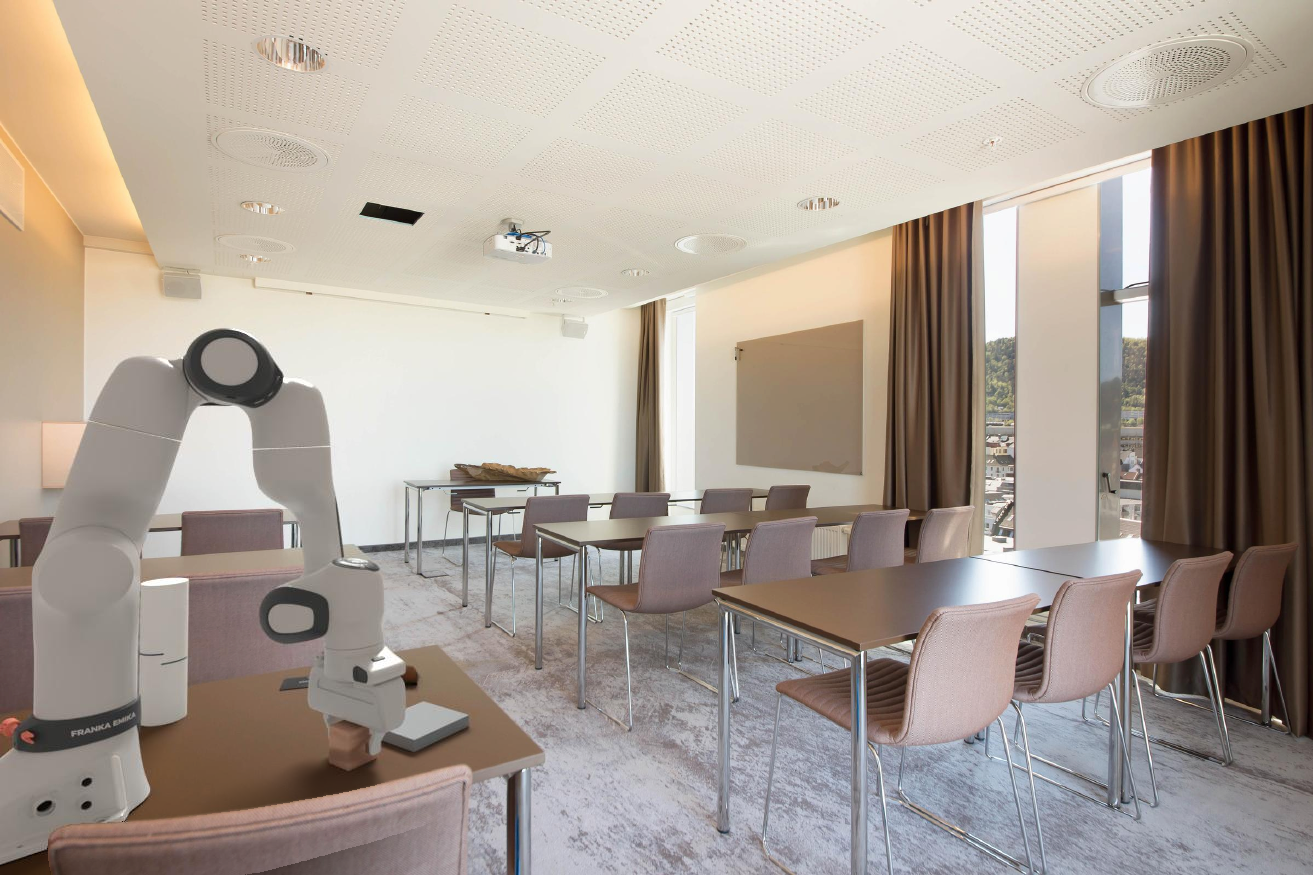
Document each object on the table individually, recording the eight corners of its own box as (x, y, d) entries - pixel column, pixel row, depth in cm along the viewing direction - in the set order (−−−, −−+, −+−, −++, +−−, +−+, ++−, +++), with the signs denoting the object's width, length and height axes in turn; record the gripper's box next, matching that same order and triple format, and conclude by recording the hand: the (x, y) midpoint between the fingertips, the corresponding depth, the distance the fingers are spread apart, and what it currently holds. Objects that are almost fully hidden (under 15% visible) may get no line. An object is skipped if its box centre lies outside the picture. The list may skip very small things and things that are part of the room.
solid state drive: (284, 681, 144) (284, 678, 144) (335, 676, 147) (335, 673, 147) (279, 693, 137) (279, 689, 137) (333, 687, 141) (333, 683, 141)
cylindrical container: (146, 713, 125) (148, 579, 125) (191, 708, 128) (193, 576, 128) (132, 728, 119) (134, 586, 119) (180, 722, 121) (182, 584, 121)
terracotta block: (348, 771, 104) (349, 732, 104) (328, 762, 107) (329, 725, 107) (376, 758, 108) (377, 721, 108) (357, 750, 111) (357, 714, 111)
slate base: (414, 751, 111) (414, 739, 111) (367, 735, 117) (367, 723, 117) (468, 725, 121) (469, 714, 121) (423, 711, 127) (423, 701, 127)
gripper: (297, 654, 111) (296, 738, 110) (378, 677, 100) (378, 769, 100) (332, 644, 116) (332, 724, 116) (413, 664, 106) (412, 753, 106)
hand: (354, 745), depth 108 cm, fingers open, 8 cm apart
